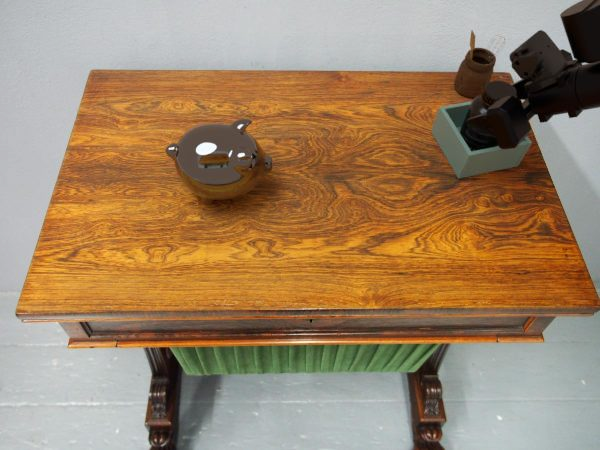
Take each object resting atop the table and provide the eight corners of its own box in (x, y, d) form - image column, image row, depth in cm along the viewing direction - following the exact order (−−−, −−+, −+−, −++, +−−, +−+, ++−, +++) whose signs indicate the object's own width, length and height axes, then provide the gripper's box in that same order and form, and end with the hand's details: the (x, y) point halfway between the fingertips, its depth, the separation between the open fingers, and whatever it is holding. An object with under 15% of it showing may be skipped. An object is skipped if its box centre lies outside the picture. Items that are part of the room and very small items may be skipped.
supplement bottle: (466, 125, 86) (491, 68, 76) (502, 144, 84) (533, 88, 74) (447, 148, 83) (470, 92, 73) (484, 168, 80) (513, 113, 70)
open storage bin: (487, 120, 87) (498, 96, 83) (518, 166, 82) (532, 142, 77) (430, 131, 86) (439, 106, 81) (458, 178, 80) (469, 155, 75)
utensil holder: (489, 97, 91) (515, 40, 81) (457, 100, 90) (479, 43, 80) (478, 76, 94) (502, 19, 84) (447, 78, 93) (467, 21, 83)
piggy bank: (274, 215, 75) (273, 164, 65) (173, 218, 74) (157, 167, 64) (272, 158, 81) (271, 105, 71) (178, 161, 80) (165, 107, 70)
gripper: (600, -2, 65) (498, 34, 78) (529, 61, 57) (428, 89, 71) (623, 75, 69) (521, 97, 82) (559, 144, 61) (458, 156, 74)
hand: (484, 108), depth 77 cm, fingers open, 9 cm apart
